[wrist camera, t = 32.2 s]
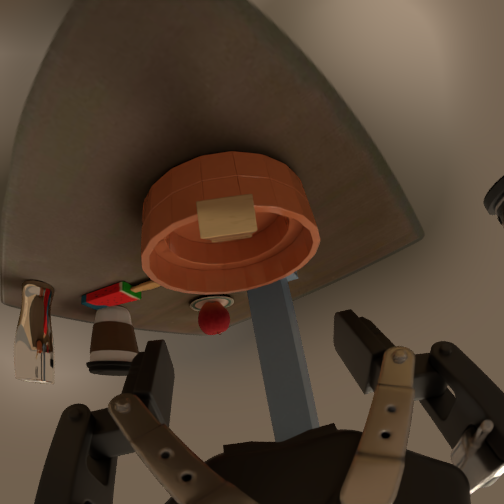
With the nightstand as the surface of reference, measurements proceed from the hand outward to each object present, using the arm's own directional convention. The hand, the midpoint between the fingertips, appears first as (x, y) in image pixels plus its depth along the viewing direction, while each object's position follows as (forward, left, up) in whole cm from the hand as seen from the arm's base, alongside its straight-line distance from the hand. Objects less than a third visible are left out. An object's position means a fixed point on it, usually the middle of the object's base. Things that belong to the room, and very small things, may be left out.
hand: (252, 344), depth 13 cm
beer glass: (+38, -2, -15) cm, 41 cm away
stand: (+12, +24, -15) cm, 30 cm away
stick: (+3, +4, -9) cm, 10 cm away
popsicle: (+30, +10, -15) cm, 35 cm away
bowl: (+6, +8, -15) cm, 18 cm away
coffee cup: (+40, +14, -15) cm, 45 cm away
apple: (+26, +27, -15) cm, 40 cm away
